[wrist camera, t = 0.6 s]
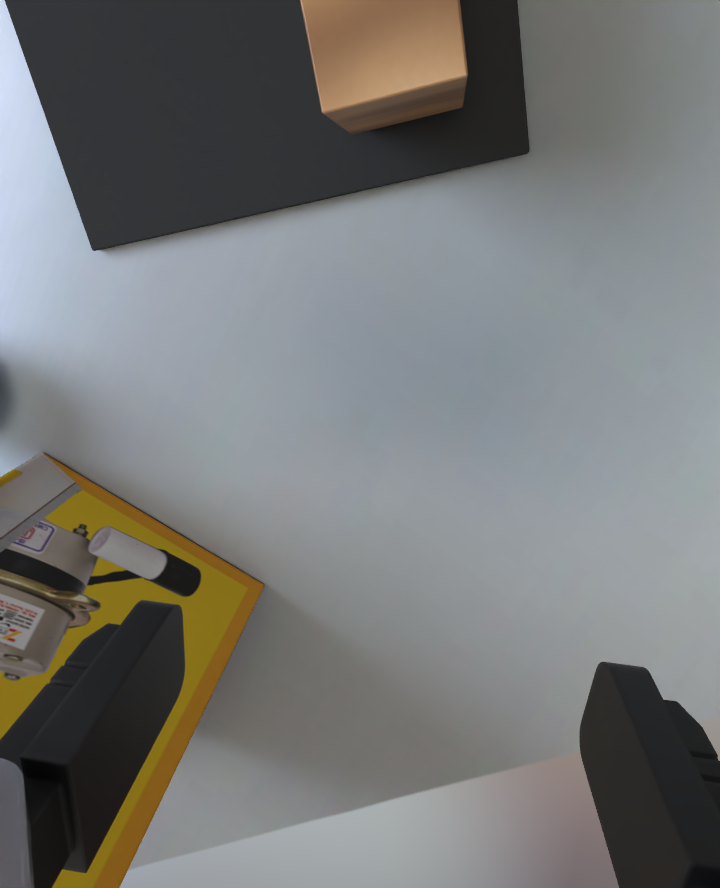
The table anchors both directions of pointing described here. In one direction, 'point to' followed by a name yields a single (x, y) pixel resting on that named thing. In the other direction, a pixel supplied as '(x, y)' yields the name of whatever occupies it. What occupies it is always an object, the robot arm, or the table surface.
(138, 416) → the table surface
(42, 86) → the mat
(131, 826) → the packaging box
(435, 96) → the tall wood grain block
